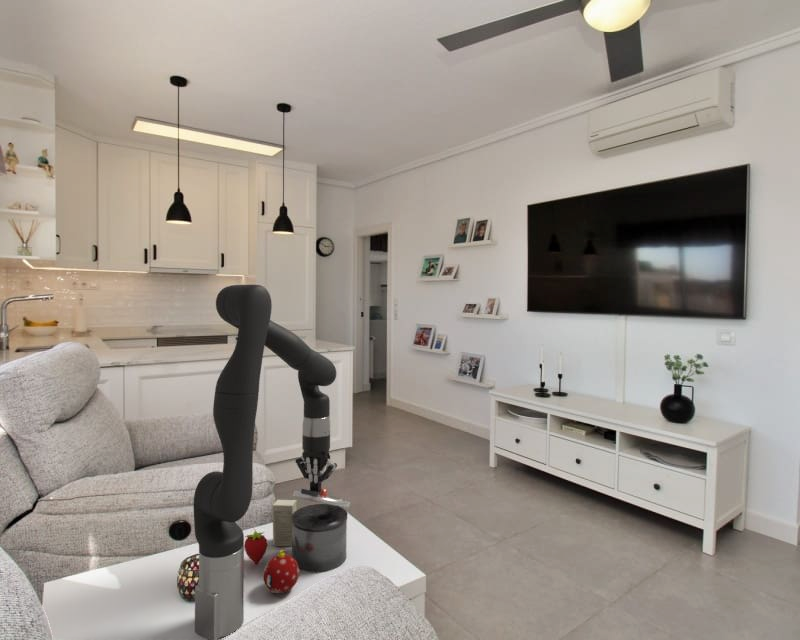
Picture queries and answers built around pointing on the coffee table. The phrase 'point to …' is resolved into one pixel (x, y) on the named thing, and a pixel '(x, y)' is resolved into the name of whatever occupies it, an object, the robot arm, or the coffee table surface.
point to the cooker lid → (320, 497)
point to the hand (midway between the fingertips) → (315, 494)
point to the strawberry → (256, 546)
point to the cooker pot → (319, 537)
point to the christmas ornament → (281, 573)
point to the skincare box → (283, 522)
